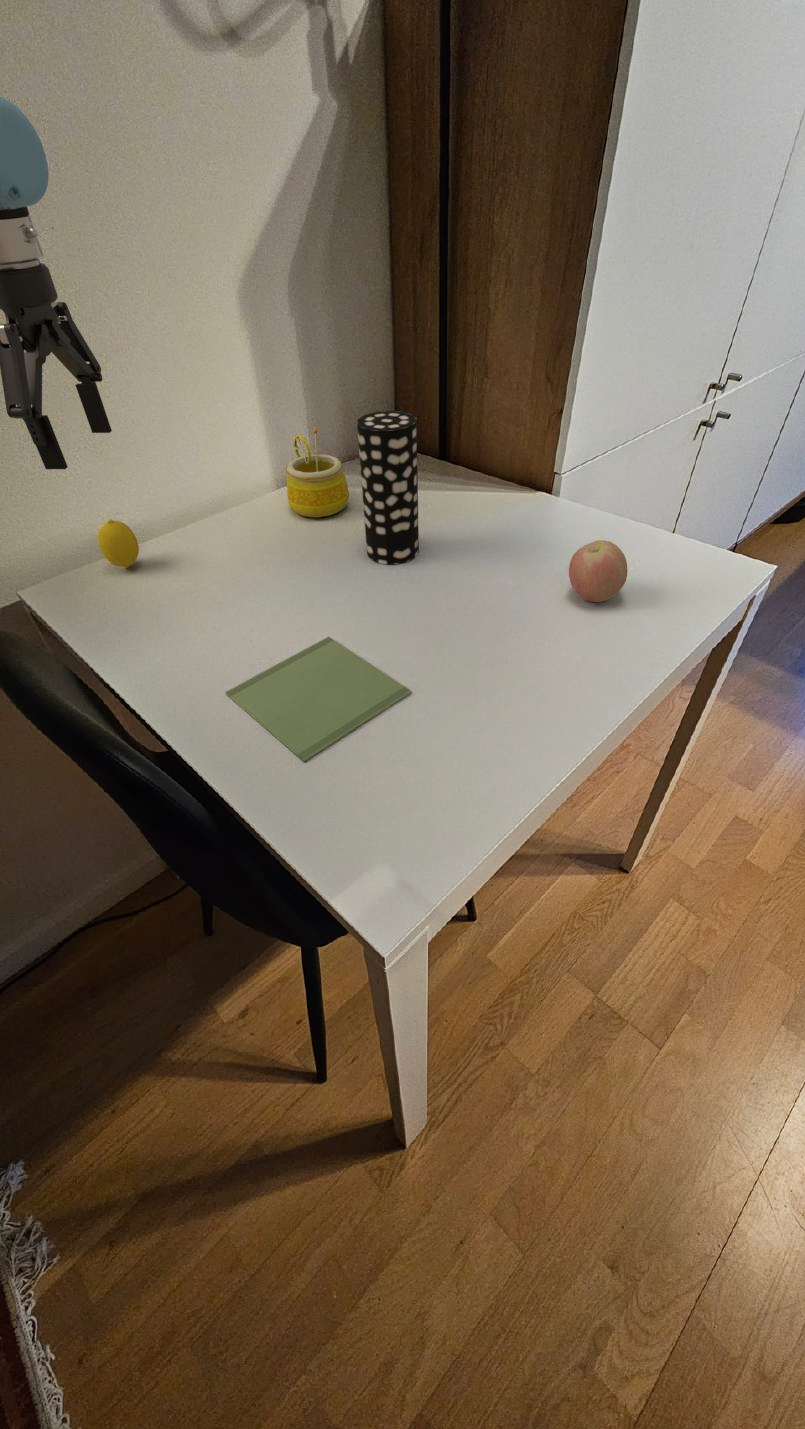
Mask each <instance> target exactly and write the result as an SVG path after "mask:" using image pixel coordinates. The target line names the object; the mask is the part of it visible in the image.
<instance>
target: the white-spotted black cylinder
mask: <svg viewBox="0 0 805 1429" xmlns="http://www.w3.org/2000/svg"><path fill="white" fill-rule="evenodd" d="M356 428H357V439H358V440H357V442H358V452H359V453H358V454H359V467H360V481H361V492H362V505H363V518H364V531H365V532H364V533H365V544H366V555H367V557H368V558H369V559H370V560H371V561H373V562H375V563H378V564H381V565H400V564H405V563H408V562H410V561H412V560H414V559H415V558H417V556H418V555H419V552H420V540H419V539H420V538H419V536H420V535H419V482H418V480H419V478H418V477H419V475H418V474H419V473H418V471H419V470H418V418H417V417H416V416H415V415H413V414H412V413H409V412H405V411H399V410H397V411H396V410H380V411H374V412H370V413H367V414H364V415H362V416H360V417H359V418H358V419H357V420H356Z"/></svg>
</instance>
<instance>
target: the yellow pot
mask: <svg viewBox="0 0 805 1429" xmlns="http://www.w3.org/2000/svg"><path fill="white" fill-rule="evenodd" d="M312 433H313V434H314V451H315V453H314V454H312V453H311V448H310V446H309V443H308V441H307V440H306V438H305V437H304V436H303V435H302V434H296V435H295V436H294V438H293V449H294V452H295V455H296V457H297V458H295V459H293V460H291V461H290V462H289V463H288V465H287V466H286V468H285V471H286V474H287V477H286V491H287V502H288V505H289V507H290V508H291V510H292V511H293V512H294V513H296V514H298V515H300V516H304V517H308V518H321V517H322V518H323V517H329V516H332V515H335V514H337V513H339V512H340V511H342V510H343V509H344V508H345V507H346V506H347V504H348V501H349V497H350V491H349V485H348V481H347V478H346V474H345V473H344V471H343V468H344V467H343V462H342V461H341V460H340V459H339V458H337V457H335V456H333V455H329V454H322V453H321V454H318V444H317V434H318V429H317V428H316V427H314V428H313V430H312ZM303 445H304V446H303ZM305 448H306V449H305ZM299 451H300V453H299Z"/></svg>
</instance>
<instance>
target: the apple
mask: <svg viewBox="0 0 805 1429" xmlns="http://www.w3.org/2000/svg"><path fill="white" fill-rule="evenodd" d="M627 577H628V562H627V558H626V556H625V554H624V552H623V551H622V550H621V548H620V547H619V546H618V545H617V544H615V543H614V542H612V541H610V540H609V541H608V540H606V539H605V540H604V539H601V540H600V539H599V540H595V541H591V542H589V543H587V544H585V545H583V546H581V547H579V548H578V549H577V550H576V551H575V552H574V553H573V554H572V556H571V559H570V561H569V565H568V579H569V582H570V585H571V587H572V589H573V590H574V591H575V593H576V594H577V595H578V596H579V597H580V599H581V598H582V599H583V600H585V601H587V602H589V603H591V602H592V603H602V602H606V601H608V600H610V599H611V598H613V597H615V596H616V595H617V594H618V593H619V592H620V591H621V590H622V589H623V587H624V585H625V584H626V581H627Z"/></svg>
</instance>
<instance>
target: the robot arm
mask: <svg viewBox="0 0 805 1429" xmlns="http://www.w3.org/2000/svg"><path fill="white" fill-rule="evenodd" d="M49 175H50V174H49V165H48V161H47V156H46V153H45V151H44V146H43V143H42V140H41V138H40V136H39V134H38V132H37V130H36V129H35V127H34V125H33V124H32V122H31V121H30V119H29V118H28V117H27V116H26V114H25V113H24V112H23V111H22V110H21V109H20V108H19V107H18V106H17V105H16V104H14V103H13V102H12V101H10V100H8V99H7V98H6V97H3V96H1V95H0V310H1V311H2V312H3V313H4V316H5V321H6V323H0V376H1V383H2V389H3V395H4V402H5V410H6V414H7V416H8V417H9V418H11V419H16V420H17V419H20V420H23V422H24V424H25V426H26V428H27V431H28V433H29V435H30V438H31V441H32V443H33V444H34V446H35V447H36V449H37V451H38V454H39V457H40V459H41V461H42V464H43V466H44V468H45V470H66V469H68V466H69V465H68V464H67V461H66V458H65V457H64V454H63V451H62V449H61V446H60V444H59V441H58V438H57V436H56V433H55V431H54V428H53V425H52V423H51V420H50V418H49V416H48V414H47V415H45V414H43V365H44V364H45V363H46V361H47V357H48V356H50V355H51V353H52V354H53V355H54V357H56V359H57V360H58V361H59V362H60V363H61V364H62V365H63V366H64V367H65V369H66V370H68V372H69V373H70V374H71V375H72V376H73V377H74V378H75V379H76V380H77V381H78V382H79V383H76V384H75V388H76V392H77V394H78V397H79V399H80V402H81V405H82V408H83V411H84V413H85V416H86V420H87V422H88V425H89V427H90V430H91V433H92V434H110V433H112V432H113V430H112V427H111V424H110V421H109V418H108V416H107V413H106V410H105V407H104V403H103V400H102V398H101V394H100V391H99V389H98V386H97V383H99V382H100V383H102V382H103V375H102V367H101V365H100V363H99V361H98V360H97V358H96V356H95V355H94V353H93V351H92V350H91V347H89V345H88V343H87V341H86V340H85V338H84V337H83V335H82V333H81V331H80V330H79V328H78V326H77V325H76V323H75V321H74V319H73V317H72V315H71V312H70V309H69V306H68V304H67V303H66V302H65V301H57V300H58V296H59V295H58V292H57V290H56V286H55V283H54V281H53V278H52V274H51V272H50V268H49V266H48V265H47V266H46V264H45V263H42V262H41V260H42V259H43V257H44V252H43V249H42V247H41V245H40V242H39V239H38V231H37V230H36V228H35V226H34V224H33V221H32V219H31V216H30V211H29V208H28V207H32V206H35V205H36V204H38V203H39V202H41V200H42V199H43V198H44V196H45V194H46V192H47V190H48V185H49Z"/></svg>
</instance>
